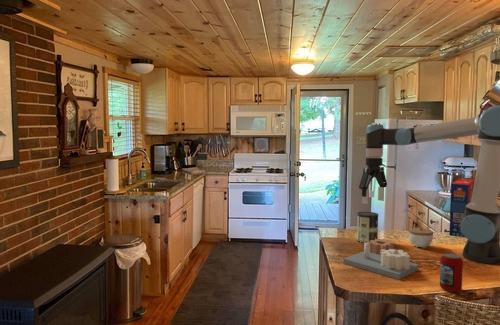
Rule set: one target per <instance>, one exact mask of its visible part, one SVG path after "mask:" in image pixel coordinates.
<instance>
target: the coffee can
mask: <svg viewBox="0 0 500 325" xmlns="http://www.w3.org/2000/svg"><path fill="white" fill-rule="evenodd" d="M356 216H357V218H356V219H357V220H356V241H357V240H358V241H360V242H359V243H361V242H364V243H363V244H365V243H367V242H370V240H375V239H379V213H377V212H373V211H359V212H357V213H356ZM358 241H357V242H358Z"/></svg>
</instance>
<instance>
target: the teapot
mask: <svg viewBox="0 0 500 325" xmlns="http://www.w3.org/2000/svg"><path fill="white" fill-rule="evenodd" d="M450 205H451V197H450V198H449V197H447V198H446V199H443V198H441V199H439V202H438V206H439V207H440V208H441V209H442V211H443V212H444V213H448V214H450Z"/></svg>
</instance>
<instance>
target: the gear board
mask: <svg viewBox="0 0 500 325" xmlns="http://www.w3.org/2000/svg"><path fill="white" fill-rule="evenodd" d="M363 247H364V248H363V250H364V251H361V252H357V253H355V254H352V255H350V256H347V257H344V258H343V264H344V265H348V266H351V267H355V268H358V269H362V270H365V271H369V272H372V273H376V274H378V275H382V276H386V277H389V278H392V279H396V280H401V279H403V278H405V277H407V276H409V275H411V274H413V273H415V272H417V271H418V270H419V265H420V264H416V263H414V262H410V263H409V269H401V270H396V269H395V268H391V269H387V268H385V266H382V265H381V262H380V255H378V254H374V253H370V244H369V243H364V246H363ZM398 250H399V249H394V250H392V254H398Z"/></svg>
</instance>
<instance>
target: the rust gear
mask: <svg viewBox="0 0 500 325" xmlns="http://www.w3.org/2000/svg"><path fill="white" fill-rule="evenodd" d="M367 243H369V244H370V253H374V254H378V255H380V250H382V249H384V250H389V249H393V250H395V248H394V246H395V245H394V244H395V243H394V242H392V241H388V240H385V239H383V240H382V239H379V238H378V239H375V240H370V242H367Z"/></svg>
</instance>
